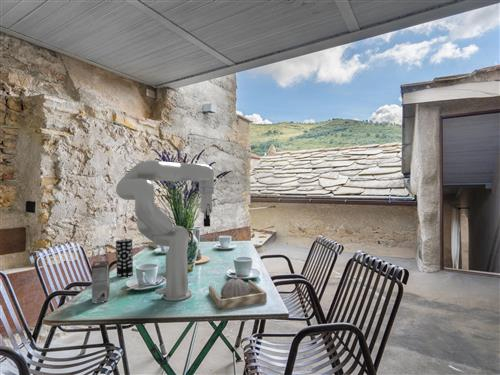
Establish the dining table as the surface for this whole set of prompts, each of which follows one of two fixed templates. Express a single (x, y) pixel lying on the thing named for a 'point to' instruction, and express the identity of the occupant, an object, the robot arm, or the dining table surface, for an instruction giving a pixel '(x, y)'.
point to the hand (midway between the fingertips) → (206, 226)
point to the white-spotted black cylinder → (124, 257)
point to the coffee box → (100, 281)
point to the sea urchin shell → (235, 289)
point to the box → (241, 300)
